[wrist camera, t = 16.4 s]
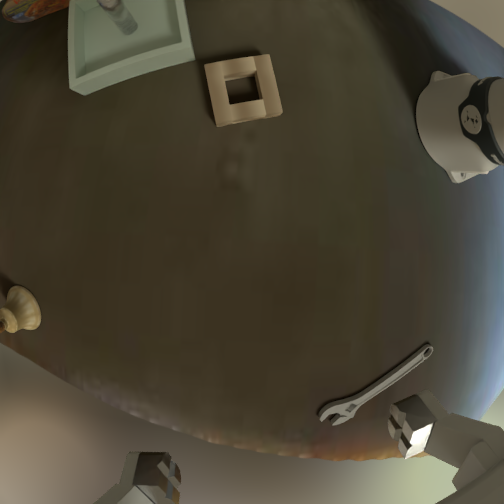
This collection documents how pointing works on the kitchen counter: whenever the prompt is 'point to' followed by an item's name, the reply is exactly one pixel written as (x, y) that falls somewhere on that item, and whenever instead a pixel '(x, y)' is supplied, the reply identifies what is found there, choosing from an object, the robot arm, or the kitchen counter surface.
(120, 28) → the steel pin
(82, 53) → the tray
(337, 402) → the adjustable wrench
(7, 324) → the hand bell
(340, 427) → the kitchen counter surface
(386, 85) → the kitchen counter surface
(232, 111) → the block
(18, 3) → the tin
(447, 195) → the kitchen counter surface
